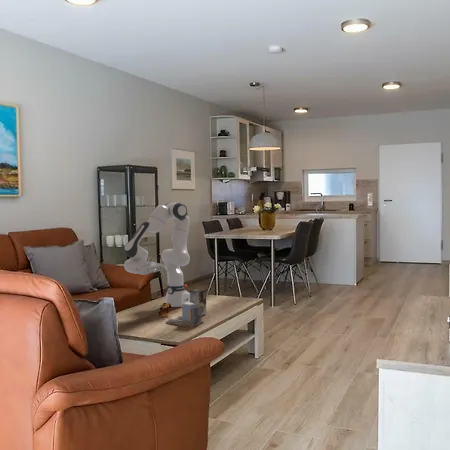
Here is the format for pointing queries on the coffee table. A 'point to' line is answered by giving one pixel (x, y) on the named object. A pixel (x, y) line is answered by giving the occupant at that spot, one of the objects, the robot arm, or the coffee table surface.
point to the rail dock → (178, 321)
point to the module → (186, 311)
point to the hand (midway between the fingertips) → (160, 269)
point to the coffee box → (199, 299)
